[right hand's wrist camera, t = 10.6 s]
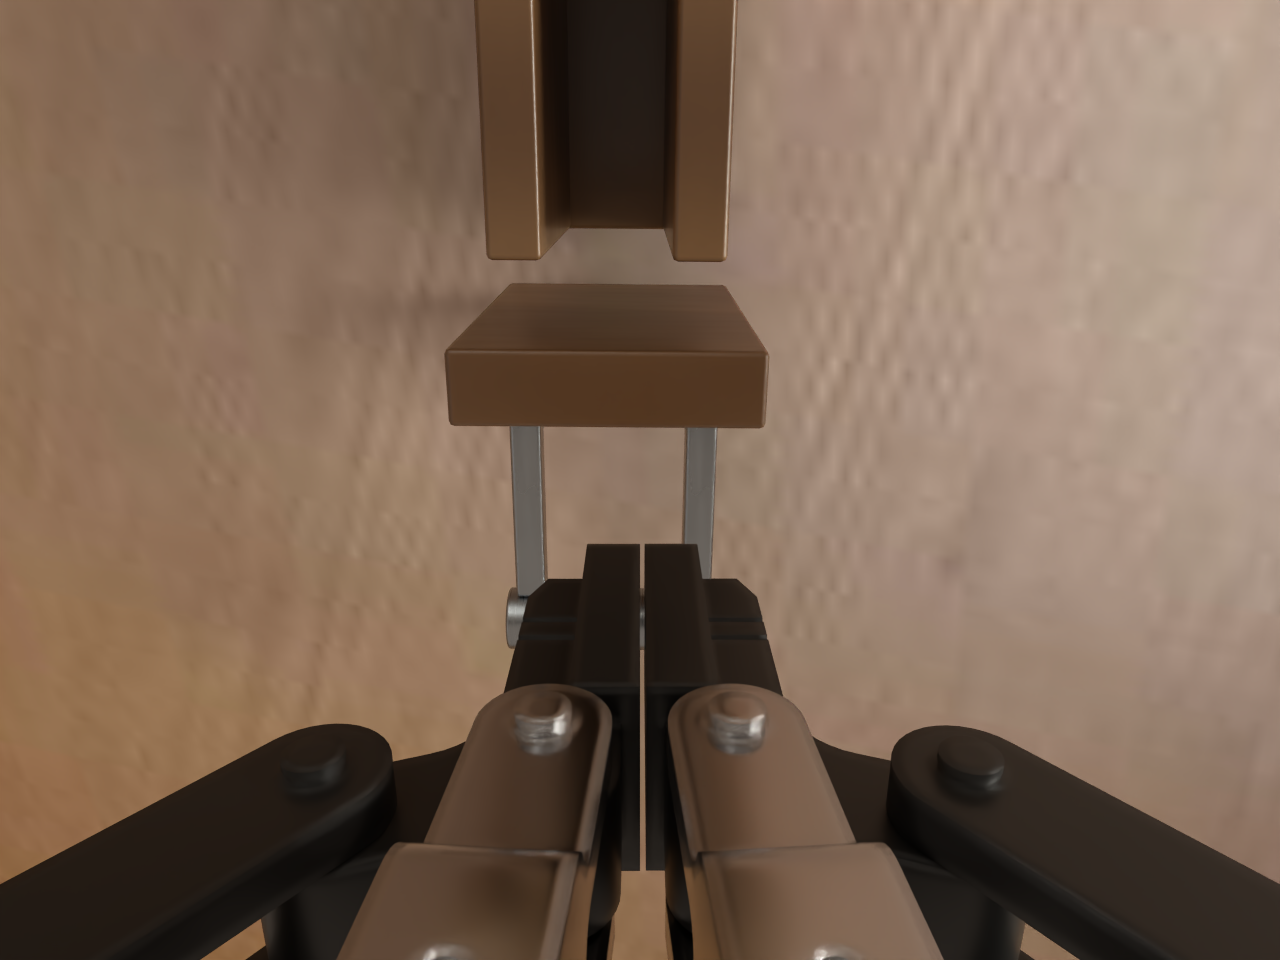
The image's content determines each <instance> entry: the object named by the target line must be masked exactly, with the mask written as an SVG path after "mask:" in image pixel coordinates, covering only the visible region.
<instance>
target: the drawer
mask: <svg viewBox="0 0 1280 960" xmlns="http://www.w3.org/2000/svg"><path fill="white" fill-rule="evenodd" d="M474 6H475V27H476V47H477V68H478V88H479V109H480V129H481V150H482V170H483V191H484V211H485V232H486V252H487V256H488V258H489V259H491V260H538V259H540V258H541V257H542V256H543V255H544V254H545V253H546V252H547V251H548V250H549V249H550V248H551V247H552V246H553V244H554V243H555V242H556V241H557V240H558V239H559V238H560V237H561V236H562V235H563V234H564V233H565V232H566V231H567V230H568V229H569V228H612V229H664V230H665V233H666V237H667V240H668V243H669V246H670V249H671V253H672V256H673V258H674V260H676V261H682V262H722V261H724V260H726V257H727V250H728V226H729V202H730V178H731V153H732V129H733V105H734V81H735V57H736V32H737V8H738V0H474ZM445 369H446V384H447V399H448V414H449V422H450V424H451V425H454V426H510V449H511V473H512V496H513V519H514V542H515V566H516V587H513V588H511V589H510V591H509V594H508V599H507V607H506V639H507V644H508V647H509V648H511V649H515V647H516V643H517V640H518V635H519V631H520V627H521V623H522V622H523V615H524V611H525V607H526V603H527V599H528V597H529V596H530V595H531V594H532V593H533V592H534V591H535V590H536V589H537V588H539V587H540V586H541V585H542V584H543V583H544V582H545V581H546V580H547V579H548V570H547V536H546V502H545V468H544V435H543V427H660V428H685V442H684V478H683V515H682V544H697V545H698V552H699V558H700V565H701V572H702V579H711V573H712V548H713V523H714V498H715V473H716V448H717V428H762V427H764V425H765V420H766V403H767V386H768V369H769V355H768V352H767V351H766V349H765V347H764V346H763V344H762V343H761V341H760V340H759V338H758V337H757V335H756V333H755V332H754V330H753V329H752V327H751V326H750V324H749V322H748V321H747V319H746V318H745V316H744V315H743V313H742V311H741V310H740V308H739V307H738V305H737V304H736V302H735V300H734V299H733V297H732V296H731V294H730V293H729V291H728V290H727V288H726V286H723V285H626V284H514V283H513V284H510V285H509V286H508V287H507V288H506V289H505V290H504V291H503V292H502V293H501V294H500V295H499V296H498V297H497V298H496V299H495V300H494V301H493V302H492V303H491V304H490V306H489V307H488V308H487V309H486V310H485V311H484V312H483V313H482V314H481V315H480V316H479V317H478V318H477V319H476V320H475V321H474V322H473V323H472V324H471V325H470V326H469V327H468V328H467V329H466V330H465V331H464V332H463V333H462V334H461V335H460V336H459V337H458V338H457V339H456V340H455V341H454V342H453V343H452V344H451V345H450V346H449V347H448V348H447V349H446V351H445ZM640 650H644V588H640Z"/></svg>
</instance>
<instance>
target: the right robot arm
mask: <svg viewBox="0 0 1280 960" xmlns="http://www.w3.org/2000/svg"><path fill="white" fill-rule="evenodd" d="M644 694H645V814H646V870H665V888H666V912H665V938H666V946H667V954H668V960H1034V959H1033V958H1031V957H1030V956H1028V955H1027V954H1026V953H1024V952H1023V951H1021V950H1020V948H1021V943H1022V938H1023V933H1024V927H1025V923H1027V924H1028V925H1030V926H1031V927H1033V928H1034V929H1036V930H1037V931H1038V932H1040V933H1041V934H1043V935H1044V936H1046V937H1047V938H1049V939H1050V940H1052V941H1053V942H1055V943H1056V944H1058V945H1059V946H1061V947H1062V948H1063V949H1065V950H1066V951H1068V952H1069V953H1071V954H1072V955H1074V956H1075V957H1077V958H1078V959H1080V960H1280V884H1278V883H1276V882H1274V881H1273V880H1271V879H1269V878H1267V877H1265V876H1263V875H1261V874H1259V873H1257V872H1255V871H1254V870H1252V869H1250V868H1248V867H1246V866H1244V865H1242V864H1240V863H1238V862H1236V861H1235V860H1233V859H1231V858H1229V857H1227V856H1225V855H1223V854H1221V853H1219V852H1218V851H1216V850H1214V849H1212V848H1210V847H1208V846H1206V845H1204V844H1202V843H1200V842H1199V841H1197V840H1195V839H1193V838H1191V837H1189V836H1187V835H1185V834H1183V833H1182V832H1180V831H1178V830H1176V829H1174V828H1172V827H1170V826H1168V825H1166V824H1164V823H1163V822H1161V821H1159V820H1157V819H1155V818H1153V817H1151V816H1149V815H1147V814H1145V813H1144V812H1142V811H1140V810H1138V809H1136V808H1134V807H1132V806H1130V805H1128V804H1127V803H1125V802H1123V801H1121V800H1119V799H1117V798H1115V797H1113V796H1111V795H1109V794H1108V793H1106V792H1104V791H1102V790H1100V789H1098V788H1096V787H1094V786H1092V785H1090V784H1089V783H1087V782H1085V781H1083V780H1081V779H1079V778H1077V777H1075V776H1073V775H1072V774H1070V773H1068V772H1066V771H1064V770H1062V769H1060V768H1058V767H1056V766H1054V765H1053V764H1051V763H1049V762H1047V761H1045V760H1043V759H1041V758H1039V757H1037V756H1035V755H1034V754H1032V753H1030V752H1028V751H1026V750H1024V749H1022V748H1020V747H1018V746H1017V745H1015V744H1013V743H1011V742H1009V741H1007V740H1005V739H1002V738H1000V737H998V736H995V735H993V734H990V733H987V732H984V731H980V730H976V729H972V728H966V727H960V726H931V727H924V728H921V729H918V730H914V731H912V732H910V733H908V734H906V735H905V736H903V737H902V738H901V739H900V740H899V741H898V742H897V743H896V745H895V746H894V748H893V751H892V755H891V761H889V760H885V759H880V758H875V757H870V756H866V755H861V754H856V753H852V752H848V751H845V750H841V749H838V748H836V747H833V746H830V745H828V744H826V743H824V742H821V741H819V740H817V739H816V738H814V737H813V736H812V735H811V732H810V730H809V728H808V725H807V723H806V721H805V718H804V717H803V715H802V713H801V712H800V710H799V709H798V708H797V707H796V706H795V705H794V704H793V703H791V702H790V701H789V700H788V699H786V698H784V697H783V694H782V691H781V687H780V683H779V679H778V675H777V672H776V668H775V664H774V660H773V656H772V653H771V649H770V645H769V641H768V640H767V634H766V630H765V626H764V622H762V615H761V611H760V607H759V603H758V600H757V597H756V596H755V595H754V594H753V593H752V592H751V591H750V590H749V589H747V588H746V587H745V586H744V585H743V584H742V583H741V582H740V581H738V580H737V579H702V572H701V565H700V558H699V552H698V545H697V544H645V585H644ZM621 871H640V544H587V550H586V557H585V564H584V572H583V579H547V580H546V581H545V582H544V583H543V584H542V585H541V586H540V587H539V588H537V589H536V590H535V591H534V592H533V593H532V594H531V595H530V596H529V597H528V599H527V603H526V607H525V611H524V615H523V622H522V623H521V627H520V631H519V635H518V640H517V643H516V647H515V651H514V654H513V658H512V662H511V666H510V670H509V674H508V678H507V682H506V686H505V690H504V693H503V694H501V695H499V696H497V697H496V698H494V699H492V700H491V701H490V702H489V703H487V704H486V705H485V706H484V707H483V708H482V709H481V710H480V712H479V713H478V715H477V717H476V718H475V721H474V723H473V725H472V728H471V730H470V732H469V735H468V737H467V740H466V742H463V743H461V744H459V745H457V746H455V747H452V748H449V749H446V750H443V751H439V752H435V753H432V754H427V755H422V756H418V757H413V758H408V759H404V760H399V761H394V762H393V759H392V751H391V748H390V746H389V743H388V742H387V741H386V740H385V738H384V737H382V736H381V735H380V734H378V733H377V732H375V731H373V730H371V729H369V728H365V727H362V726H358V725H351V724H325V725H318V726H312V727H308V728H304V729H300V730H297V731H294V732H291V733H288V734H286V735H284V736H281V737H279V738H277V739H275V740H273V741H271V742H269V743H267V744H265V745H263V746H262V747H260V748H258V749H256V750H254V751H252V752H250V753H248V754H246V755H245V756H243V757H241V758H239V759H237V760H235V761H233V762H231V763H229V764H227V765H226V766H224V767H222V768H220V769H218V770H216V771H214V772H212V773H210V774H209V775H207V776H205V777H203V778H201V779H199V780H197V781H195V782H193V783H191V784H190V785H188V786H186V787H184V788H182V789H180V790H178V791H176V792H174V793H172V794H171V795H169V796H167V797H165V798H163V799H161V800H159V801H157V802H155V803H154V804H152V805H150V806H148V807H146V808H144V809H142V810H140V811H138V812H136V813H135V814H133V815H131V816H129V817H127V818H125V819H123V820H121V821H119V822H117V823H116V824H114V825H112V826H110V827H108V828H106V829H104V830H102V831H100V832H99V833H97V834H95V835H93V836H91V837H89V838H87V839H85V840H83V841H81V842H80V843H78V844H76V845H74V846H72V847H70V848H68V849H66V850H64V851H62V852H61V853H59V854H57V855H55V856H53V857H51V858H49V859H47V860H45V861H44V862H42V863H40V864H38V865H36V866H34V867H32V868H30V869H28V870H26V871H25V872H23V873H21V874H19V875H17V876H15V877H13V878H11V879H9V880H8V881H6V882H4V883H2V884H0V960H200V959H202V958H203V957H205V956H206V955H208V954H209V953H211V952H212V951H214V950H215V949H217V948H218V947H219V946H221V945H222V944H224V943H225V942H227V941H228V940H230V939H231V938H233V937H234V936H236V935H237V934H239V933H240V932H242V931H243V930H244V929H246V928H247V927H249V926H250V925H252V924H253V923H255V922H256V921H258V920H259V919H261V922H262V927H263V933H264V938H265V943H266V946H264V947H263V948H262V949H260V950H259V951H257V952H256V953H254V954H253V955H252V956H250V957H249V958H247V959H246V960H612V954H613V946H614V938H615V912H616V910H617V907H618V905H619V902H620V894H621Z"/></svg>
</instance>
